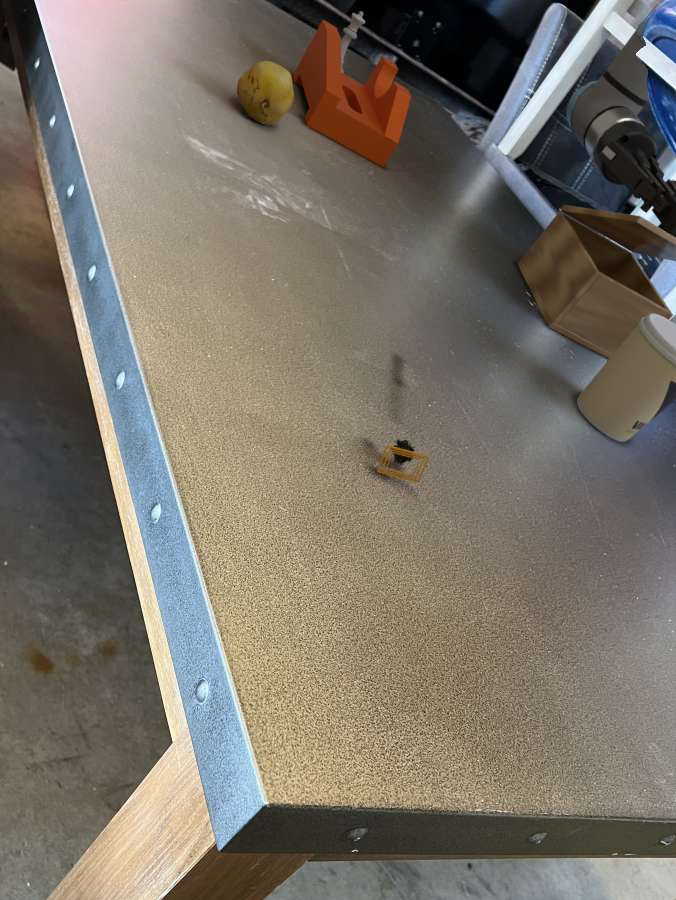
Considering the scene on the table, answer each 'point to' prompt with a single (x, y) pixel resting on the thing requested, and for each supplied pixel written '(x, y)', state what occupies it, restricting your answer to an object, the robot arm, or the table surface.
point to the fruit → (266, 92)
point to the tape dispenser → (352, 99)
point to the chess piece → (350, 33)
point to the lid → (627, 231)
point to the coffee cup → (634, 381)
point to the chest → (588, 285)
